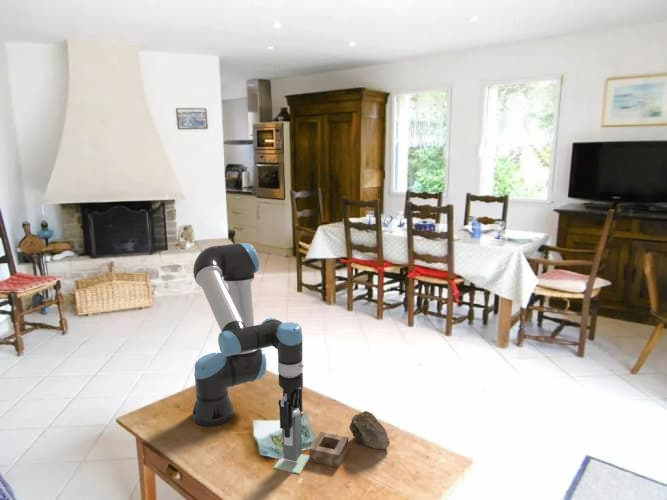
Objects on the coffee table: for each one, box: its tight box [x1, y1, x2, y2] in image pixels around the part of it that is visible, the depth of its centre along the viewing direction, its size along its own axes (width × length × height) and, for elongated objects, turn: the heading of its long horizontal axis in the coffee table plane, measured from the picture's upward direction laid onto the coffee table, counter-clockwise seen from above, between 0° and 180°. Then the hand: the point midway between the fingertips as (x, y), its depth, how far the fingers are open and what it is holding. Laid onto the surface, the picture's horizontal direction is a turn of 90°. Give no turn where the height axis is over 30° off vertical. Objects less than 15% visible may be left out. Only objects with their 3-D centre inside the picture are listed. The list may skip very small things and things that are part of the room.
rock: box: [349, 410, 391, 450], centre depth 162 cm, size 15×8×15 cm
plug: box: [281, 407, 303, 461], centre depth 151 cm, size 5×5×16 cm
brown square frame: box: [309, 431, 349, 468], centre depth 156 cm, size 10×10×4 cm
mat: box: [273, 453, 310, 475], centre depth 153 cm, size 9×9×1 cm
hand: (292, 440), depth 151 cm, fingers closed on plug, 4 cm apart
